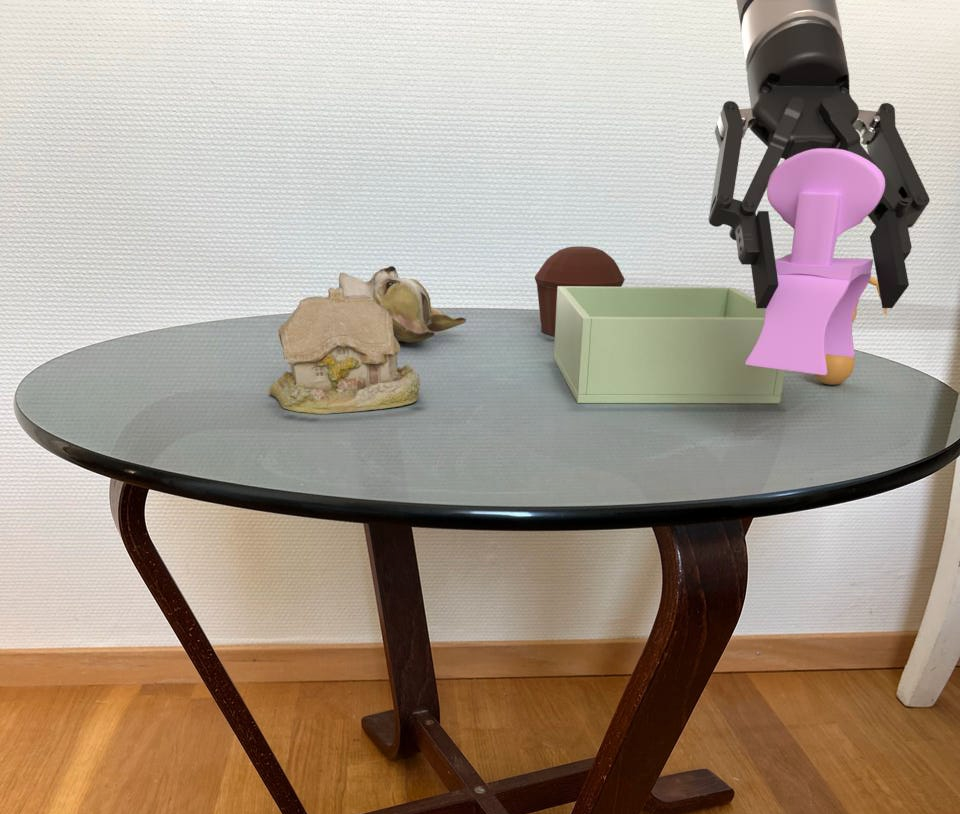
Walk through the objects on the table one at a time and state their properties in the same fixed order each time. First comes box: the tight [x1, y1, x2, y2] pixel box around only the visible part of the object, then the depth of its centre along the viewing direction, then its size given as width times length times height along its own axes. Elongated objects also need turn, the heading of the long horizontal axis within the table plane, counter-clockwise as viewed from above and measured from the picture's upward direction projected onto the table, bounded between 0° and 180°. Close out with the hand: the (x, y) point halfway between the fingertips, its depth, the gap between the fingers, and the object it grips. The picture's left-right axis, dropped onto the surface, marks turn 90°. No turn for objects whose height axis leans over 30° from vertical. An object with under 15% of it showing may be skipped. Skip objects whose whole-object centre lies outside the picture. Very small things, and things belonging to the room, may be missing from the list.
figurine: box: [814, 276, 888, 386], centre depth 95 cm, size 8×6×12 cm
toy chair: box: [745, 148, 885, 375], centre depth 71 cm, size 8×9×15 cm
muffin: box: [534, 245, 625, 337], centre depth 118 cm, size 12×11×10 cm
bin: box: [553, 286, 786, 405], centre depth 96 cm, size 20×20×8 cm
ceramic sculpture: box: [338, 265, 467, 343], centre depth 112 cm, size 11×9×15 cm
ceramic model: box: [268, 286, 421, 415], centre depth 87 cm, size 14×11×10 cm
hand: (831, 296), depth 70 cm, fingers closed on toy chair, 9 cm apart
